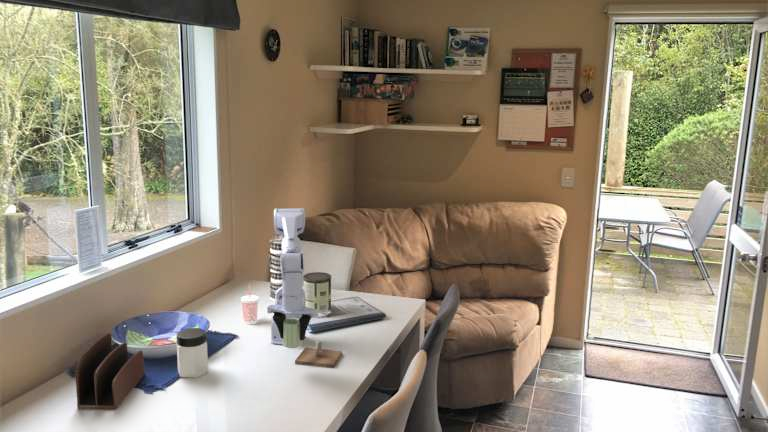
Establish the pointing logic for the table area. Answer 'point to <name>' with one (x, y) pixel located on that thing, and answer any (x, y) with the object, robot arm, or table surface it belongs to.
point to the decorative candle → (275, 265)
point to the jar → (192, 352)
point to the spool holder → (318, 356)
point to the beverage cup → (250, 308)
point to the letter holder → (106, 374)
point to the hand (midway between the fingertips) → (292, 338)
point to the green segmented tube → (291, 333)
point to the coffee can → (318, 291)
